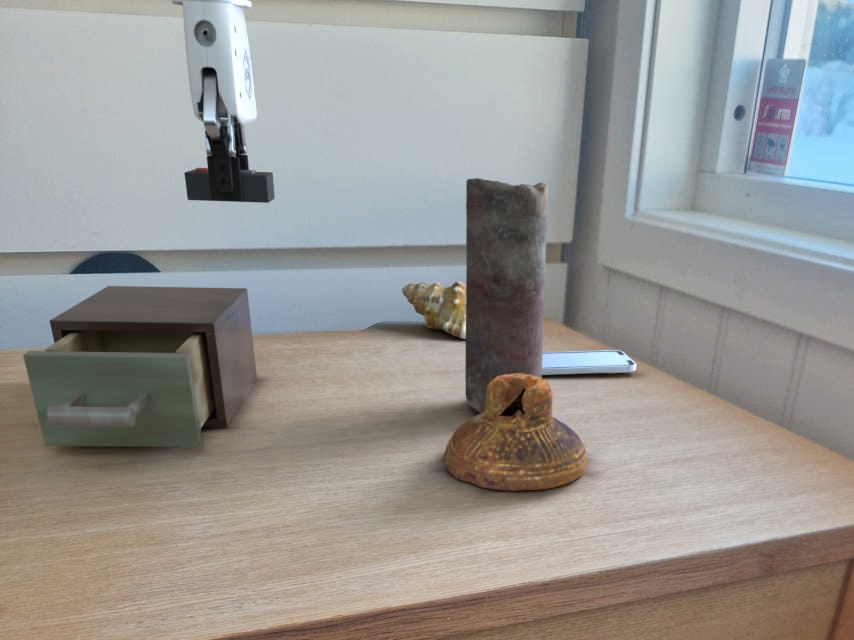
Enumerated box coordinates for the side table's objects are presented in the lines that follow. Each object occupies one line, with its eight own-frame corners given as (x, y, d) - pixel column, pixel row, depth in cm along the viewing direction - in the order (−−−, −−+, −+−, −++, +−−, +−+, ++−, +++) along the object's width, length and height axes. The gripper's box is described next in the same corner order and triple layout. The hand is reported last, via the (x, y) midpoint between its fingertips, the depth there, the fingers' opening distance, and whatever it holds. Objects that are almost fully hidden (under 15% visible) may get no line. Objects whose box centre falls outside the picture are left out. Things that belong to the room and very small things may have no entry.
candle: (451, 401, 87) (452, 175, 77) (515, 393, 90) (525, 174, 80) (486, 424, 82) (493, 182, 71) (554, 414, 85) (570, 181, 74)
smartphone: (493, 353, 101) (620, 349, 103) (493, 362, 101) (620, 358, 103) (503, 370, 95) (638, 365, 96) (503, 379, 95) (637, 374, 97)
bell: (616, 471, 72) (626, 382, 68) (509, 507, 65) (513, 410, 62) (518, 434, 80) (522, 351, 76) (413, 462, 73) (411, 373, 69)
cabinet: (227, 428, 79) (213, 322, 74) (72, 426, 78) (49, 320, 74) (257, 380, 92) (247, 288, 87) (125, 378, 92) (107, 285, 87)
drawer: (182, 473, 67) (167, 376, 63) (16, 471, 67) (-10, 374, 63) (234, 395, 84) (224, 316, 80) (102, 394, 84) (86, 314, 80)
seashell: (425, 365, 111) (390, 288, 108) (439, 360, 118) (406, 288, 115) (491, 333, 108) (457, 253, 105) (501, 330, 115) (469, 255, 113)
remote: (274, 198, 97) (272, 169, 95) (269, 202, 93) (266, 172, 92) (196, 196, 96) (192, 166, 95) (187, 200, 93) (183, 169, 91)
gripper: (233, -21, 78) (254, 207, 88) (263, -3, 93) (278, 192, 102) (147, -25, 78) (177, 205, 87) (191, -6, 92) (212, 189, 102)
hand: (231, 196), depth 95 cm, fingers closed on remote, 4 cm apart
